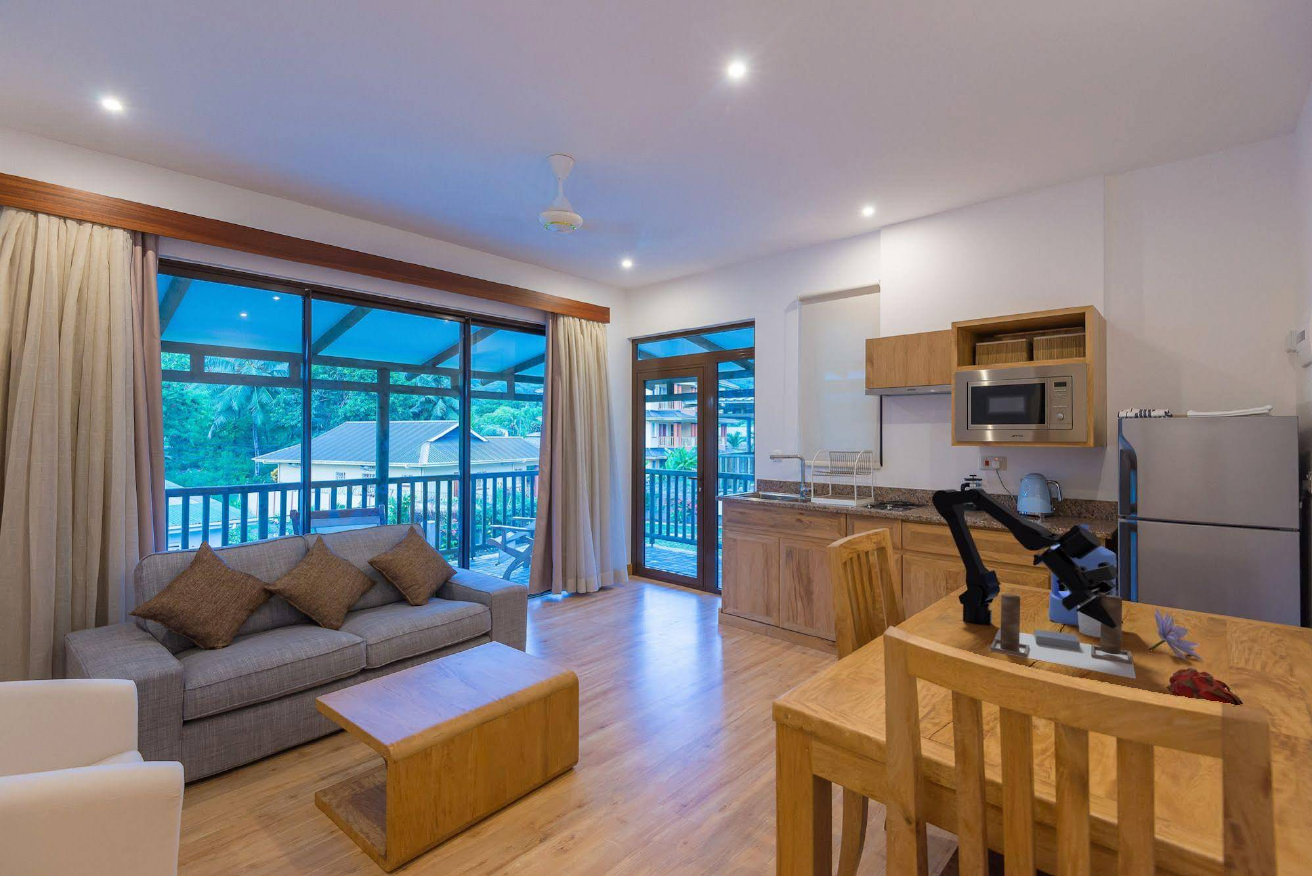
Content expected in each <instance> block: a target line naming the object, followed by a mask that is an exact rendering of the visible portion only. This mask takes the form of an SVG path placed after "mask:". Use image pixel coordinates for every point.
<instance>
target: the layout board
mask: <svg viewBox="0 0 1312 876" xmlns="http://www.w3.org/2000/svg"><path fill="white" fill-rule="evenodd" d="M1000 643H1001V628H998V630H997V633H996V634H995V636H994V638H993V641H992V642H991V645H990V647H989V652H990V651H991V652H994V653H995V652H996V653H999V654H1006V655H1011V656H1017V657H1021V658H1026V659H1031V660H1032V659H1033V660H1037V661H1043V662H1047V663H1052V664H1058V665H1062V666H1068V667H1071V668H1072V667H1073V668H1078V669H1081V670H1082V669H1083V670H1087V671H1094V672H1097V673H1098V672H1099V673H1104V674H1109V675H1114V676H1120V677H1124V678H1130V679H1135V680H1136V678H1137V677H1136V673H1135V672H1136V670H1135V667H1134V663H1133V662H1134V661H1133V656H1132V652H1131V651H1128V650H1123V649H1121V654H1109V653H1105V652H1103V651H1101V650H1100V646H1099V645H1094V644H1088V643H1082V642H1080V650H1075V649H1069V648H1062V647H1055V646H1048V645H1041V644H1036V642H1035V639H1034V634H1030V633H1024V632H1020V641H1019V652H1016V651H1011V650H1005V649H1001V648H1000Z"/></svg>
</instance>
